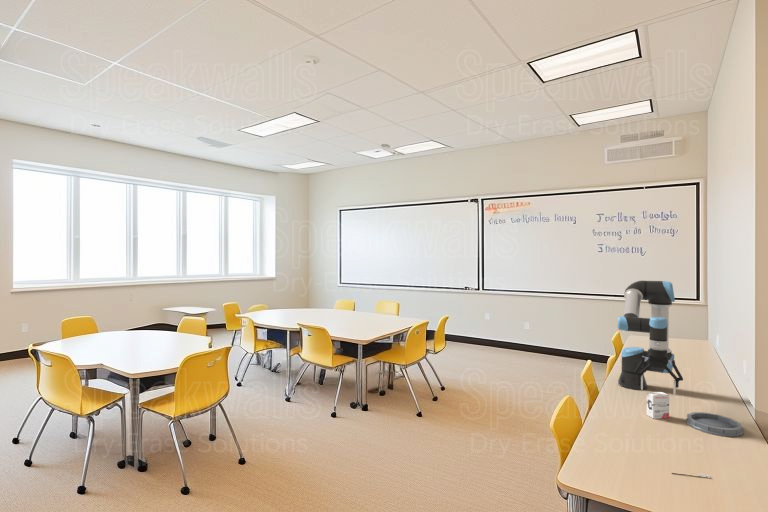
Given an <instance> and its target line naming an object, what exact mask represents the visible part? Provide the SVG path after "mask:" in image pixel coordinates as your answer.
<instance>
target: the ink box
mask: <svg viewBox="0 0 768 512" xmlns="http://www.w3.org/2000/svg"><path fill="white" fill-rule="evenodd" d="M647 415H648V416H647ZM646 416H647V417H649V416H650V417H649V418H651V417H652V418H651V419H653V418H654V419H653V420H657V419H660V420H661V419H669V418H670V394H667V393H665V392H662V391H653V392H650V391H649V392H646Z"/></svg>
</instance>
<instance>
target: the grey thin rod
mask: <svg viewBox="0 0 768 512" xmlns="http://www.w3.org/2000/svg"><path fill="white" fill-rule="evenodd" d="M696 474H697V475H700V476H706V477H710V478H709V479H711V476H710V475H709V474H703V473H696Z"/></svg>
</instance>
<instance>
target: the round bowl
mask: <svg viewBox="0 0 768 512" xmlns="http://www.w3.org/2000/svg"><path fill="white" fill-rule="evenodd" d="M685 423H686V424H687V425H688V426H689V427H691V428H693V429H695V430H697V431H700V432H702V433H705V434H706V433H707V434H709V435H712V436H713V435H715V436H718V437H727V438H737V437H740V436H741V437H742V436H743V434H744V430H743V428H744V427H743V425H742V423H740V422H739V421H737V420H735V419H733V418H731V417H727V416H724V415H721V414H717V413H716V414H715V413H712V412H710V413H709V412H701V411H700V412H699V411H697V412H696V411H695V412H694V411H693V412H690V413H687V414H686V419H685Z"/></svg>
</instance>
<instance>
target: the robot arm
mask: <svg viewBox="0 0 768 512" xmlns="http://www.w3.org/2000/svg"><path fill="white" fill-rule="evenodd" d="M623 297H624V300H625V301H624V307H623V314H622V315H620V316H618V317H617V328H618V330H620V331H625V332H634V333H646V334H647V333H648V334H649V341H648V343H649V347H648V348H647V350H645V349H644V348H643V347H639V346H629V347H624V348H623V349H621V356H620V357H621V372H620V375H619V378H618V380H617V383H618V384H617V385H619V384H620V385H622V386H624V387H623V388H625V387H628V388H627V389H629V388H634V389H633V390H636V389H641V390H642V391H643V390H646V389H647V388H648V383H647V381H646V380H647V379H646V377H645V373H646V372H652V373H653V372H654V373H661V374H669V375H670V377H672V378H673V395H674V396H676V392H677V391H676V389H678V388H679V383H680V382H681V381H684V378H683V376H682V374H681V372H680V370H679V368H678V367H677V365H676V361H675V354H674V353H672V349H671V348H670V347H669V323H670V321H669V319H670V318H669V315H670V314H669V313H670V312H669V309H670V307H671V306H672V305H673V303H674V302H676V301H675V293H674V287H673V282H671V281H666V280H637V281H634V282H633V283H631V284H629V285H628V286H627V287H626V288H625V289H624V293H623ZM642 301H647V303H648V305H649V306H650V310H651V311H650V315H651V317H650V318H649V317H640V313H641V311H640V310H641V302H642ZM673 369H674V372H675V373H676V375H675V373H674V372H673ZM620 385H619V386H620ZM622 386H621V387H622ZM641 390H640V391H641Z"/></svg>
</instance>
